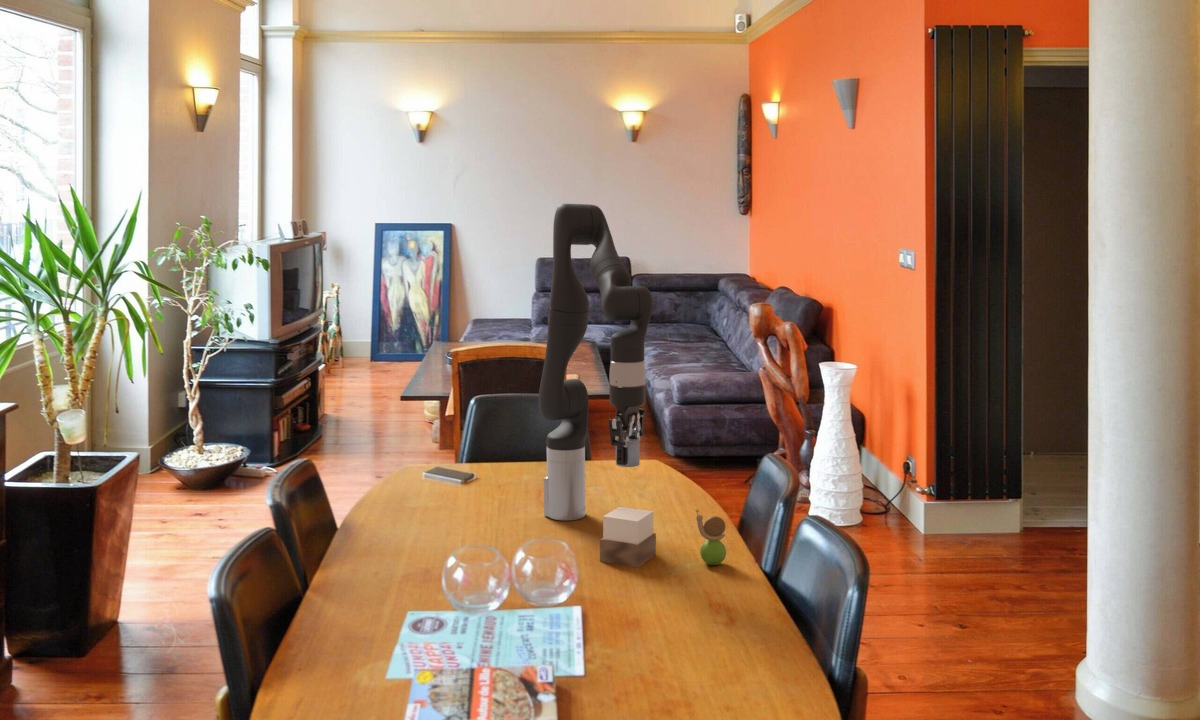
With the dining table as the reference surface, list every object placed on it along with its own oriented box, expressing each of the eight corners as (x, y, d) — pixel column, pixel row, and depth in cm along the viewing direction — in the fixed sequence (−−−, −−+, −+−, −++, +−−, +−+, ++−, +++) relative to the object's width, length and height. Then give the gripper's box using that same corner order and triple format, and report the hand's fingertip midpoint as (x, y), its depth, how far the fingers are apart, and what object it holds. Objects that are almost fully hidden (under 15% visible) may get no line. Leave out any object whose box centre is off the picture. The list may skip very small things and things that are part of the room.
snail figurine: (693, 560, 226) (693, 505, 224) (723, 559, 227) (723, 504, 225) (697, 569, 221) (698, 513, 219) (728, 568, 221) (729, 512, 220)
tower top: (603, 539, 226) (603, 516, 225) (619, 528, 233) (619, 506, 232) (637, 544, 222) (637, 521, 221) (653, 533, 229) (653, 511, 228)
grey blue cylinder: (612, 465, 224) (611, 442, 223) (621, 460, 228) (621, 437, 227) (633, 468, 222) (633, 444, 221) (643, 462, 226) (643, 439, 225)
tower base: (599, 562, 226) (599, 539, 225) (618, 549, 234) (618, 527, 233) (638, 568, 222) (638, 545, 221) (655, 555, 230) (655, 533, 229)
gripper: (625, 375, 230) (625, 452, 233) (596, 386, 217) (596, 467, 220) (657, 377, 227) (656, 455, 230) (630, 388, 214) (630, 471, 217)
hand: (627, 461), depth 225 cm, fingers closed on grey blue cylinder, 5 cm apart
